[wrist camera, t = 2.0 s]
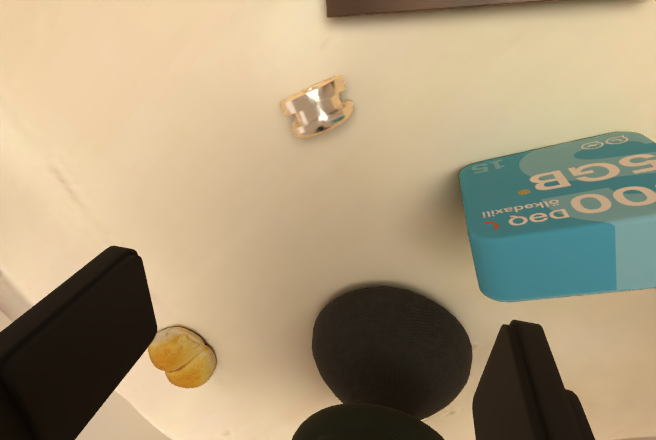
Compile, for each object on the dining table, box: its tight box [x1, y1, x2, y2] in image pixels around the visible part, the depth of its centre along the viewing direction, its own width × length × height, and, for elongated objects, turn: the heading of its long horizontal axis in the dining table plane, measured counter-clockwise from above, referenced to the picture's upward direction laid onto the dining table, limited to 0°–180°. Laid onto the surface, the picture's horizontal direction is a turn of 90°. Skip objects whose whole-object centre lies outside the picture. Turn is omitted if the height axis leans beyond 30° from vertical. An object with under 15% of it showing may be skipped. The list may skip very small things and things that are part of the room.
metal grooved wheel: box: [280, 75, 353, 138], centre depth 29 cm, size 5×3×5 cm, turn 114°
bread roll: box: [148, 327, 216, 388], centre depth 50 cm, size 8×9×4 cm
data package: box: [459, 132, 656, 302], centre depth 25 cm, size 12×4×12 cm, turn 109°
